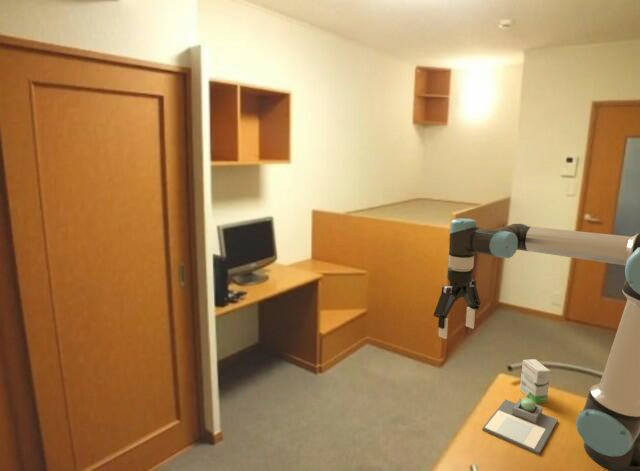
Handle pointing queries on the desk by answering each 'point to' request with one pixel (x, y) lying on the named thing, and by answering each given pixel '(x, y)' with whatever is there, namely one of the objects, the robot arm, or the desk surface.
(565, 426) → the desk surface
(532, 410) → the button
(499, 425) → the colouring board
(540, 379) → the ink box
